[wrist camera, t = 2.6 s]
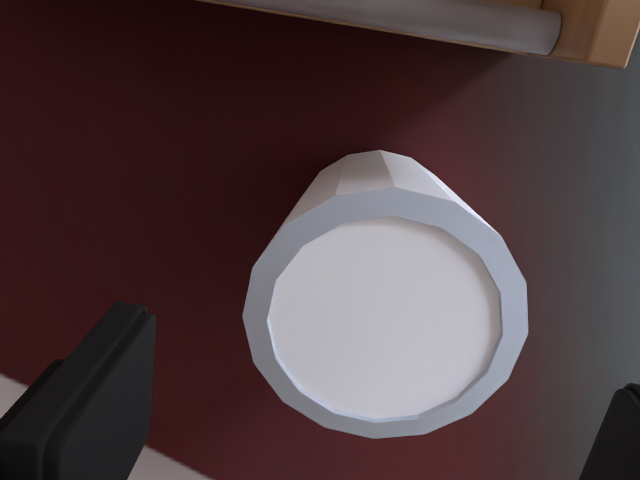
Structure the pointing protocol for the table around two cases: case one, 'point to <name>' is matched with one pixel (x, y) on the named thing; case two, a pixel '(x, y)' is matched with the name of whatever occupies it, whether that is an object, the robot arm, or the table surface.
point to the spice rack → (487, 23)
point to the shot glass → (385, 302)
